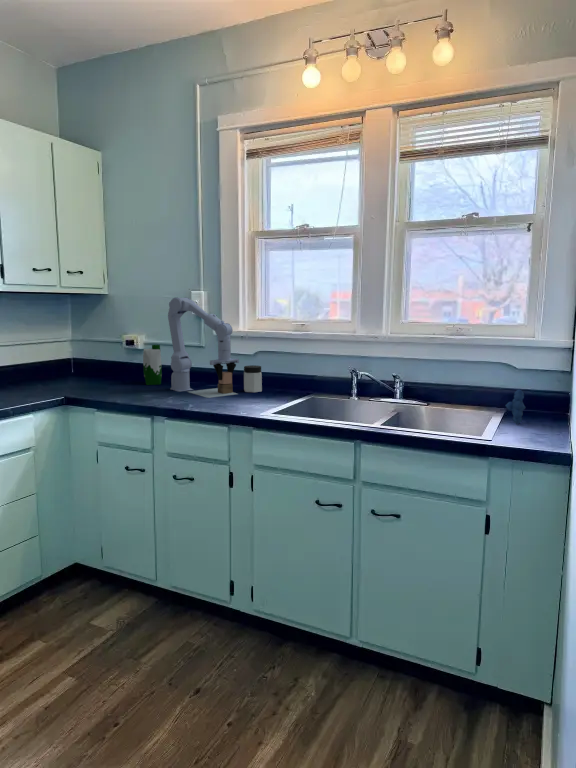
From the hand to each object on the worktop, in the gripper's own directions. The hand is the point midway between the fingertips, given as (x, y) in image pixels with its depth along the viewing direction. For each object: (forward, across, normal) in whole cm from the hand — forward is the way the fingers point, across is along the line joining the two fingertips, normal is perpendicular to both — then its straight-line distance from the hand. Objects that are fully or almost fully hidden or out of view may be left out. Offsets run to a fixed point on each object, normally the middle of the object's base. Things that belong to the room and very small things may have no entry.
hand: (224, 379), depth 249 cm
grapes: (+7, +51, -114) cm, 125 cm away
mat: (+7, -5, +3) cm, 9 cm away
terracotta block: (+2, 0, 0) cm, 2 cm away
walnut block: (+6, 0, 0) cm, 6 cm away
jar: (+7, +13, -4) cm, 15 cm away
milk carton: (+7, -15, +47) cm, 50 cm away
